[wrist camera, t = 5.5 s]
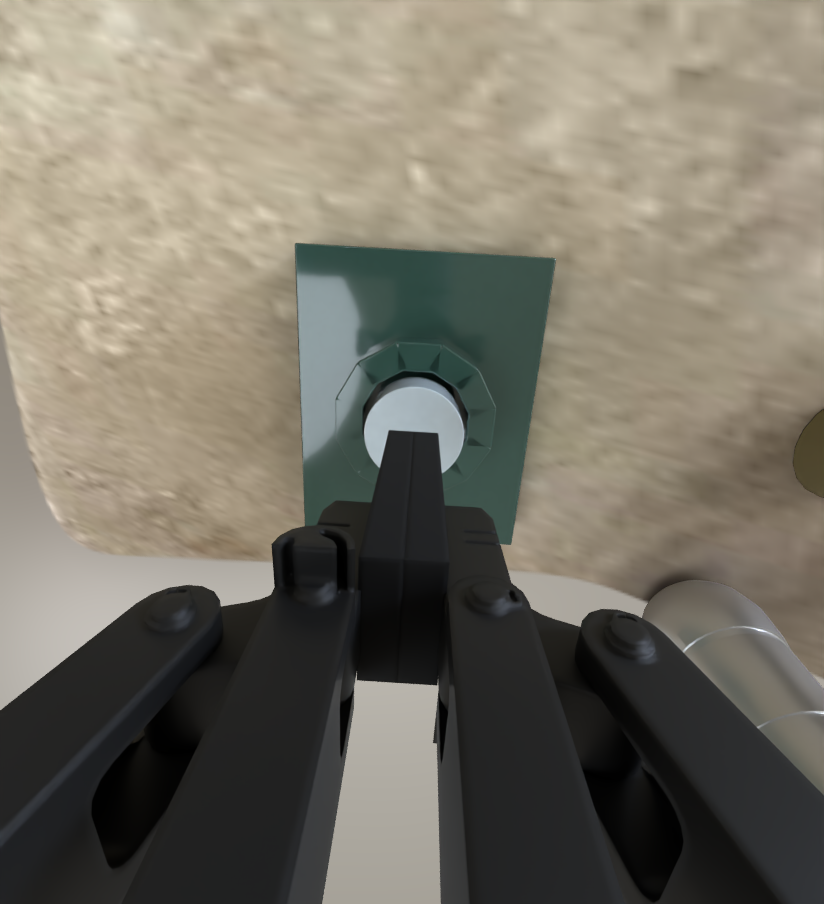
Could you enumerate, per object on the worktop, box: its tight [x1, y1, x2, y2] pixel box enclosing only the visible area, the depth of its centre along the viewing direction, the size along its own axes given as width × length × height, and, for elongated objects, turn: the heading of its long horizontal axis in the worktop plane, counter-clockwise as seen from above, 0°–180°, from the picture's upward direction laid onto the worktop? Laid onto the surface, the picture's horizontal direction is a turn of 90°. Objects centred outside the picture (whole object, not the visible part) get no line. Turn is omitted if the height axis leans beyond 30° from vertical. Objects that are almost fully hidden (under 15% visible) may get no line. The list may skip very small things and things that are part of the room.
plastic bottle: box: [642, 580, 824, 795], centre depth 18 cm, size 6×7×20 cm
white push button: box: [364, 377, 464, 473], centre depth 19 cm, size 4×4×2 cm
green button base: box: [295, 243, 556, 545], centre depth 21 cm, size 14×11×4 cm
